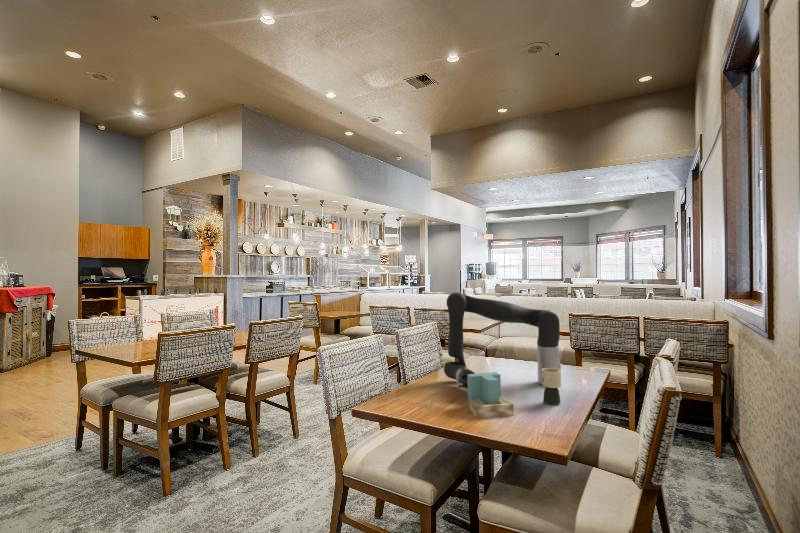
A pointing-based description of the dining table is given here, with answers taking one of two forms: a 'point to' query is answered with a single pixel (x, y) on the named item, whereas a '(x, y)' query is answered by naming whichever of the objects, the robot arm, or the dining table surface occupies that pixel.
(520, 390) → the dining table surface
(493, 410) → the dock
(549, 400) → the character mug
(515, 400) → the dining table surface
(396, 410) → the dining table surface
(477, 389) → the t block
